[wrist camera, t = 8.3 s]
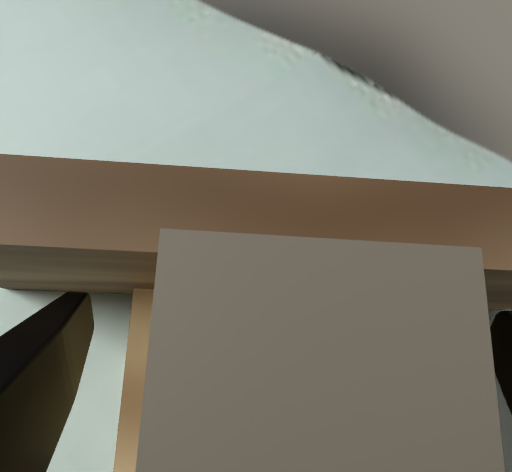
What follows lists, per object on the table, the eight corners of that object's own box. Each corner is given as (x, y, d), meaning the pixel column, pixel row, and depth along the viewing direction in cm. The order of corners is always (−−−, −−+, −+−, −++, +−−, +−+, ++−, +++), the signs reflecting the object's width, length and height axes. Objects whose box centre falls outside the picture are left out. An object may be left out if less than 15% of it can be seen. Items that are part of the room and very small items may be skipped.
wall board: (526, 536, 15) (837, 728, 8) (-44, 536, 14) (-373, 773, 6) (494, 263, 18) (700, 200, 10) (12, 238, 16) (-167, 142, 9)
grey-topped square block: (333, 440, 16) (517, 590, 6) (183, 437, 15) (123, 591, 6) (332, 303, 17) (481, 247, 7) (194, 297, 17) (160, 228, 7)
